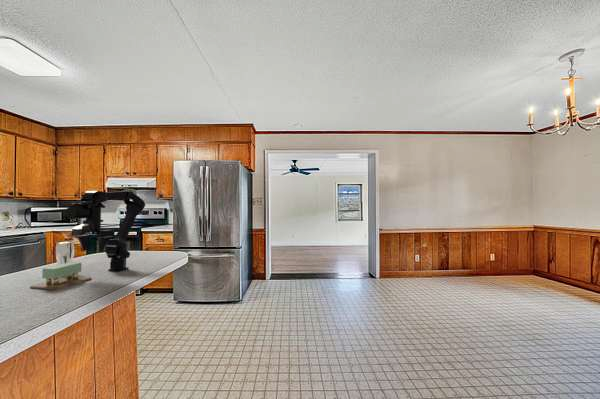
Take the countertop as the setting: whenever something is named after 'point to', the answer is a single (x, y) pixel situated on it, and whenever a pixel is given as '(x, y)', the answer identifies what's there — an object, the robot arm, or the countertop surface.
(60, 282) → the walnut base plate
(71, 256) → the beer glass
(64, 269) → the green board
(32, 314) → the countertop surface
